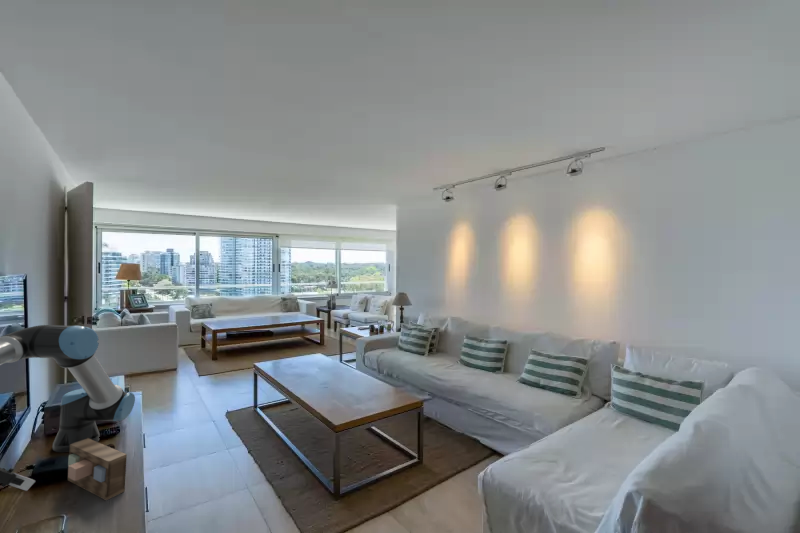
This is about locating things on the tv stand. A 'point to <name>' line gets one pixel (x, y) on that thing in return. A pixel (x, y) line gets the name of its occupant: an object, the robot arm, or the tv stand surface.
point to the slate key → (99, 473)
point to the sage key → (73, 459)
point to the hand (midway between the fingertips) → (29, 485)
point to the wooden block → (109, 460)
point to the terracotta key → (80, 469)
